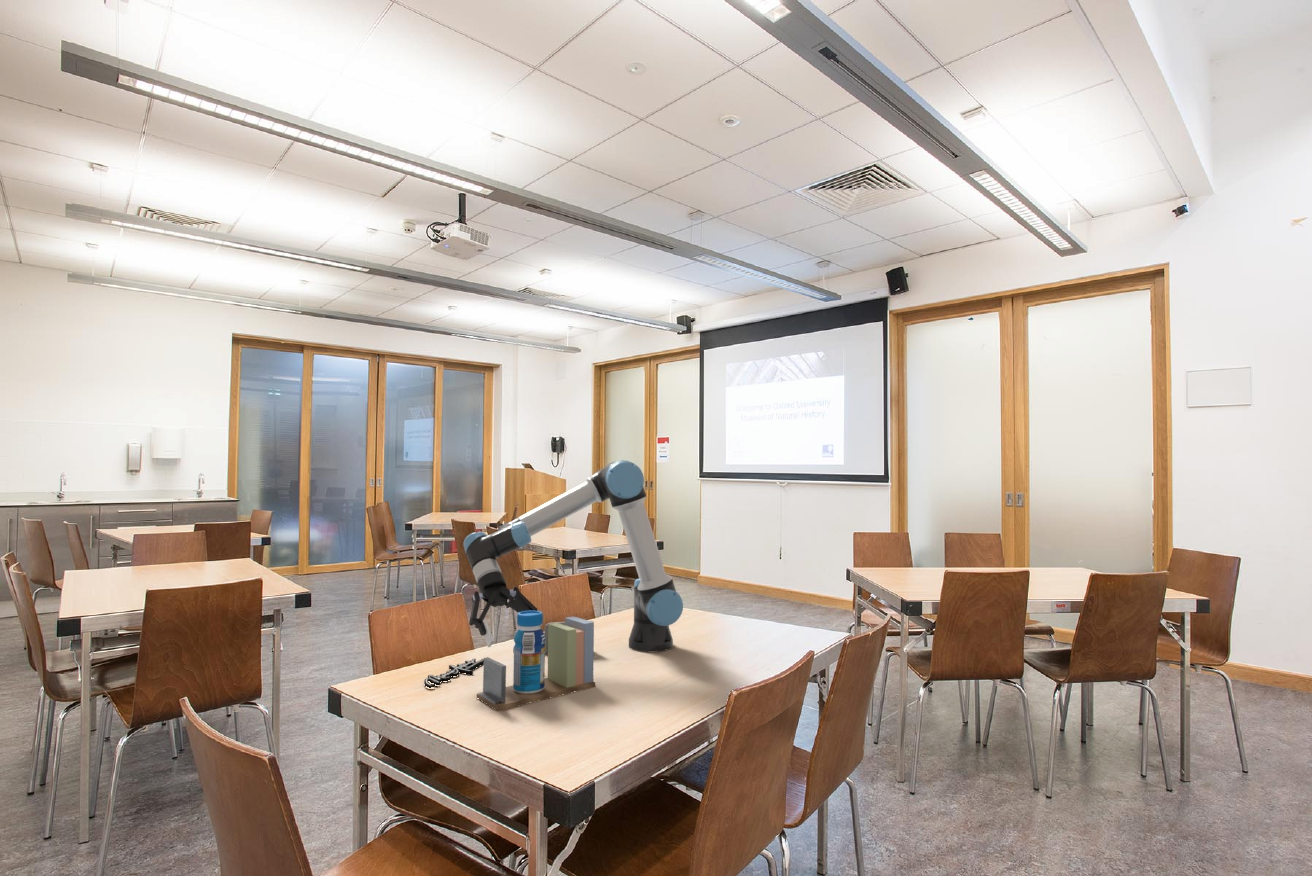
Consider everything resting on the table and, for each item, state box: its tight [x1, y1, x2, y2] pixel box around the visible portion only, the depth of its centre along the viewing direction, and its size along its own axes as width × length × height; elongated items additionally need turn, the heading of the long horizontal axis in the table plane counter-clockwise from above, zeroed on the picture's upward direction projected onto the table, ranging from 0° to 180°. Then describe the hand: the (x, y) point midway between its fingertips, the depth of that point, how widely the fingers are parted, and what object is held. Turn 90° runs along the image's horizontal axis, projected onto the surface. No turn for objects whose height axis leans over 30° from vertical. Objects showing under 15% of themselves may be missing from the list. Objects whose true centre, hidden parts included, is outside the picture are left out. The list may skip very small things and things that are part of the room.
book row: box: [547, 616, 595, 688], centre depth 178 cm, size 8×10×16 cm
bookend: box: [478, 656, 507, 704], centre depth 163 cm, size 2×10×9 cm, turn 40°
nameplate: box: [423, 658, 484, 688], centre depth 186 cm, size 28×2×10 cm
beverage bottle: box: [512, 610, 546, 694], centre depth 170 cm, size 8×8×20 cm
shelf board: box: [476, 677, 596, 711], centre depth 171 cm, size 29×12×1 cm, turn 130°
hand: (513, 640), depth 176 cm, fingers open, 13 cm apart
